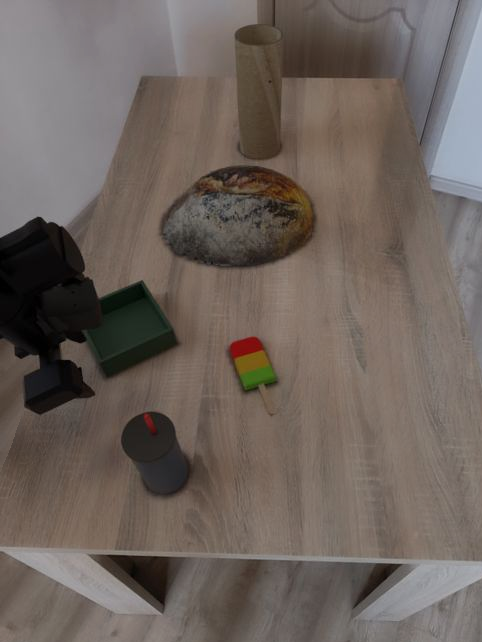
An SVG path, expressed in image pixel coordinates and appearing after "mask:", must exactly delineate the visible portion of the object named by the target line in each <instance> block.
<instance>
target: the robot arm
mask: <svg viewBox="0 0 482 642" xmlns="http://www.w3.org/2000/svg"><path fill="white" fill-rule="evenodd" d="M85 271H86V264H85V260H84V256H83V255H82V252H81V250H80V248H79V246H78V244H77V243H76V241H75V239H74V238H73V237H72V235H71V234H70V233H69V231H68V230H67V229H66V228H65V227H64V226H63V225H59V224H58V223H56V222H54V221H49V222H47V221H46V220H45V219H44V218H43V217H42V216H36V217H34V218H32V219H30V220H28V221H26V223H25V224H23V225H22V226H20V227H19V228H16V229H15V230H13V231H11V232H8V233H7V234H5V235H3V236H1V237H0V340H2V339H3V340H4V341H6V342H8V343H9V344H11V345H12V346H13V349H14V356H15V357H17V358H18V359H20V360H22V359H24V358H27V357H28V356H30V355H31V356H33V357H37V356H38V360H39V368H37V369H35V370H33V371H31V372H29V373H27V374H25V375H23V378H22V395H23V397H22V398H23V408H25V409H27V410H29V411H30V412H33V413H35V414H36V415H39V416H42V415H44V414H46V413H48V412H50V411H52V410H54V409H57V408H59V407H60V406H63V405H65V404H67V403H69V402H71V401H73V400H79V399H80V400H81V399H91V398H93V397H95V396H96V392H95V391H94V390H93V389H92V387H91V386H90V385H89V384H87V383H86V382H85V381H84V377H83V369H82V366H79V367H78V365H77V364H76V363H75V362H74V361H72V360H71V359H63V353H62V347H61V346H62V343H64V342H66V341H67V340H68V341H70V342H71V341H72V342H74V343H77V344H83V343H85V342H87V338H86V336H85V334H84V332H83V330H86V329H96V328H99V327H100V326H102V324H103V316H102V311H101V306H100V301H99V298H100V297H99V295H98V293H97V290H96V287H95V283H94V280H93V279H91V278H90V276H85V274H84V273H85Z"/></svg>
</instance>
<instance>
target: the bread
mask: <svg viewBox="0 0 482 642" xmlns="http://www.w3.org/2000/svg"><path fill="white" fill-rule="evenodd" d="M314 217H315V216H314V214H313V210H312V204H311V201H310V199H309V197H308V195H307V194H306V191H304V189H303V188H302V186H301V185H300V184H299V183H298V182H297V181H295V180H294V179H293V178H291V177H289V176H288V175H286V174H284V173H282V172H279V171H277V170H275V169H273V168H272V169H271V168H268V167H264V166H260V165H247V164H245V165H243V164H242V165H241V164H240V165H231V166H225V167H221V168H218V169H215V170H212V171H209V172H208V173H206V174H204V175H203V176H200V177H199V179H198V180H196V181H195V182H193V184H192V185H190V187H188V188H187V189H186V190H185V191H184V192H183V193H182V194H181V195H180V197H178V198H177V199H176V201H175V202H174V203H173V204H171V206H170V208H169V209H168V210H167V212H166V214H165V217H164V220H163V225H164V226H163V232H162V234H163V235H164V239H166V240H165V243H167V244H168V245H169V244H170V245H171V248H172V250H173V251H174V252H175V253H176V254H177V255H179V256H183V255H184V254H185V255H186V256H187V258H188V260H189V259H190V260H192V261H195V260H196V259H198V261H199V263H201V264H204V263H205V262H206V264H207V265H212V264H213V265H214V266H220V267H246V266H247V267H252V266H258V265H261V264H264V263H269V262H271V261H276V260H277V259H281V257H285V256H288V255H289V254H291V253H292V252H294V251H295V250H296V249H298V248H299V247H301V246H303V245H304V244H305V243H306V242H307V240H309V239H310V238H311V237H312V234H311V232H313V226H314V225H313V224H314V221H315V218H314Z"/></svg>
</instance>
